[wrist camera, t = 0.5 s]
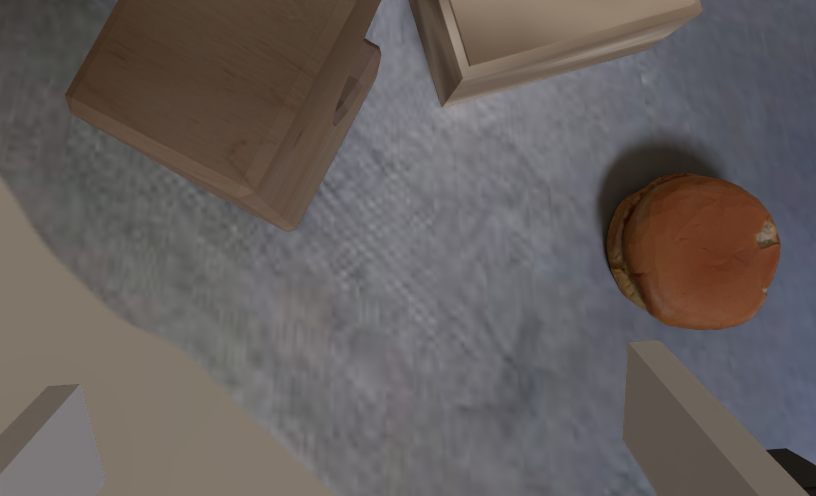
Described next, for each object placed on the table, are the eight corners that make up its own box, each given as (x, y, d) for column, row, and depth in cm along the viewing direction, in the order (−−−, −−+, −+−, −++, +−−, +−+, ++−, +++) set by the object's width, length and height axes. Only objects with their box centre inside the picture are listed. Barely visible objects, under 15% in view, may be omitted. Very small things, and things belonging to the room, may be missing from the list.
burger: (575, 233, 38) (609, 229, 34) (686, 150, 39) (733, 135, 35) (662, 358, 39) (707, 371, 34) (768, 273, 40) (826, 274, 35)
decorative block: (297, 29, 36) (256, -254, 16) (381, 76, 37) (438, -140, 17) (205, 190, 35) (44, 98, 16) (292, 236, 36) (244, 206, 16)
